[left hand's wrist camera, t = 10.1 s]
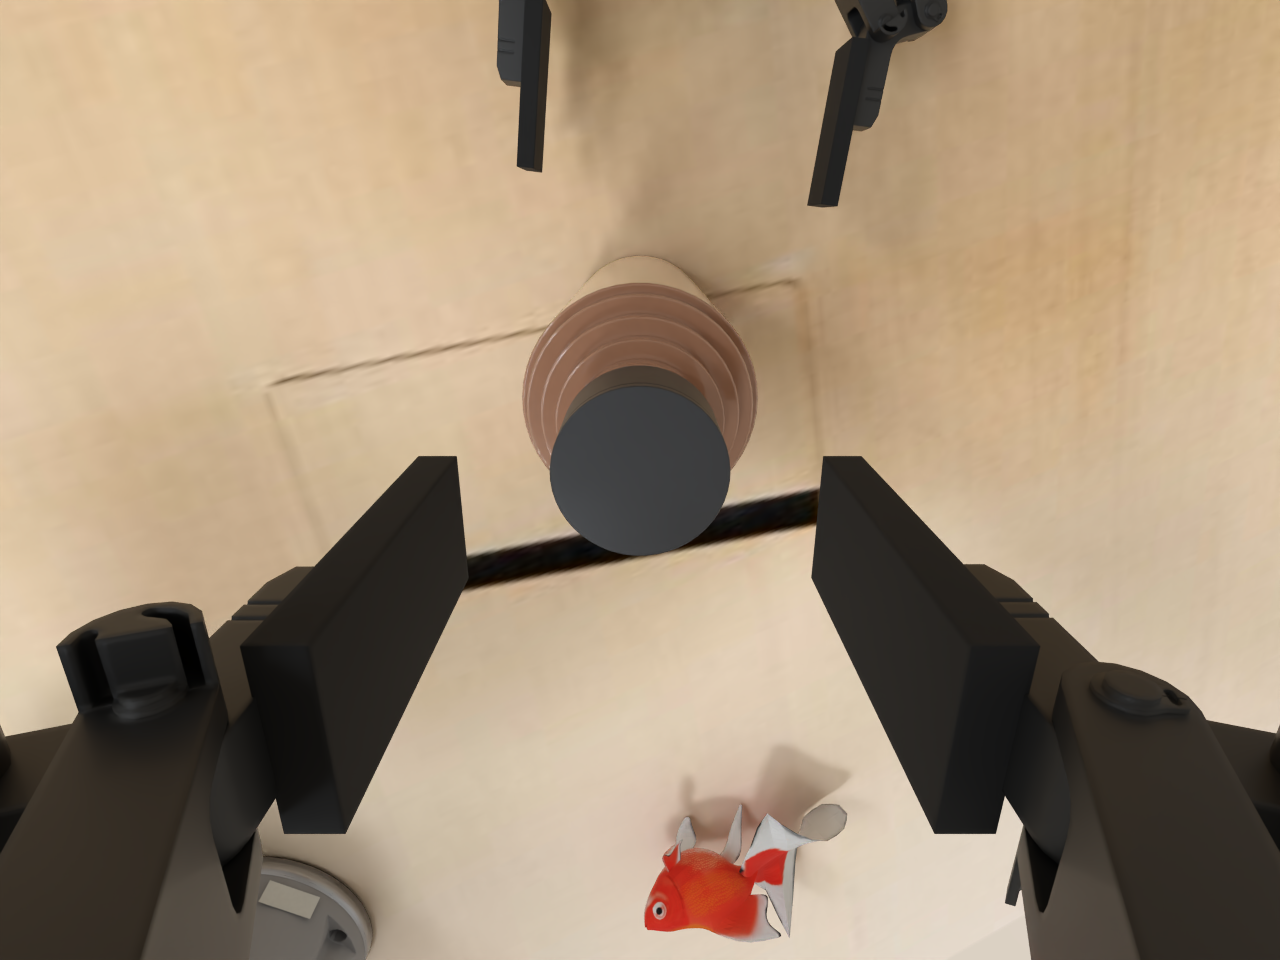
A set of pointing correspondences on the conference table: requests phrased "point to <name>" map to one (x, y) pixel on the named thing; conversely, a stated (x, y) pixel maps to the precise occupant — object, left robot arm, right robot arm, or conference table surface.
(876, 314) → the conference table surface
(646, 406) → the cap
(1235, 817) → the left robot arm
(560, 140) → the conference table surface
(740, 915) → the fish
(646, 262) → the bottle
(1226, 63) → the conference table surface
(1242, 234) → the conference table surface
